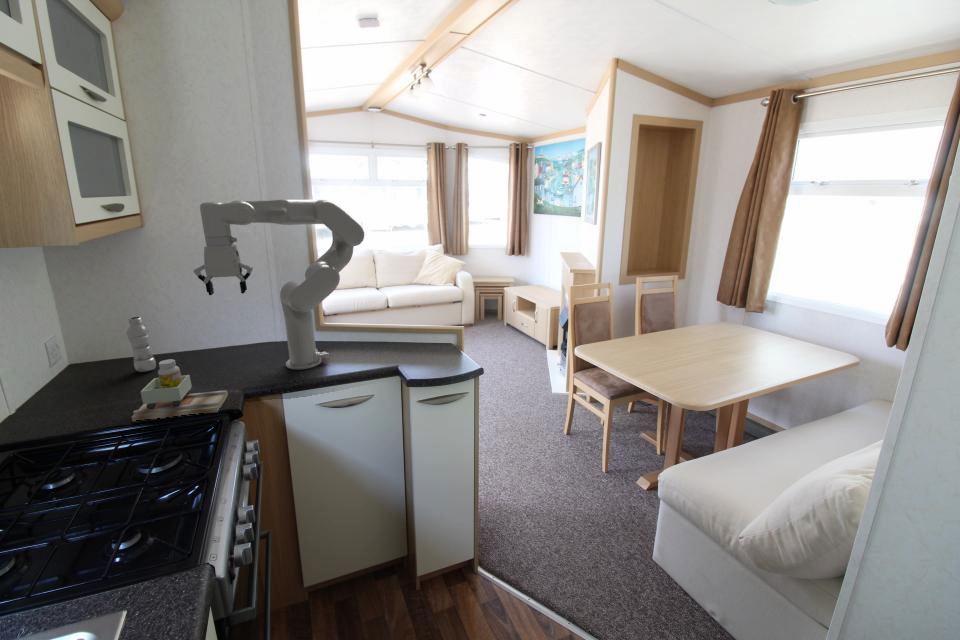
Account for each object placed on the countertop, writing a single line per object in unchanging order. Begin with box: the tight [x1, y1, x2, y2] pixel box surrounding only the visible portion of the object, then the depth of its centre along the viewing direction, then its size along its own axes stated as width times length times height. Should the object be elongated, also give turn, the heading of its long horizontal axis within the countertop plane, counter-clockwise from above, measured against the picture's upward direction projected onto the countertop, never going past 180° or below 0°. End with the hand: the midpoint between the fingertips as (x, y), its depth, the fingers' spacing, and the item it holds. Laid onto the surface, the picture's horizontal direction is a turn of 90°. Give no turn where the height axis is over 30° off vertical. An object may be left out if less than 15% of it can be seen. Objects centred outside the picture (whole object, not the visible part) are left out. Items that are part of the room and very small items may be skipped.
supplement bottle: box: [157, 358, 182, 389], centre depth 135 cm, size 5×5×10 cm
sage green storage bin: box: [140, 374, 193, 409], centre depth 136 cm, size 10×10×6 cm
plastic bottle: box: [126, 316, 157, 373], centre depth 163 cm, size 6×7×20 cm
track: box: [131, 389, 229, 422], centre depth 138 cm, size 22×12×2 cm, turn 105°
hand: (227, 293), depth 151 cm, fingers open, 9 cm apart
